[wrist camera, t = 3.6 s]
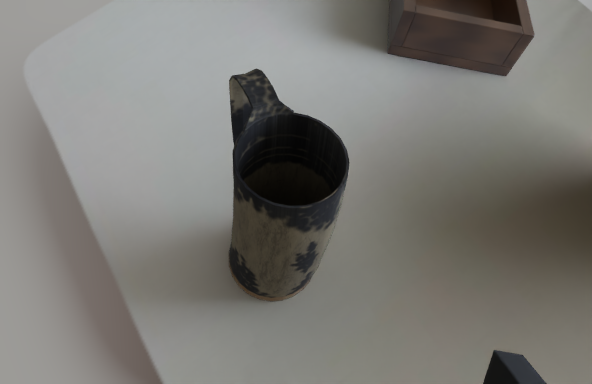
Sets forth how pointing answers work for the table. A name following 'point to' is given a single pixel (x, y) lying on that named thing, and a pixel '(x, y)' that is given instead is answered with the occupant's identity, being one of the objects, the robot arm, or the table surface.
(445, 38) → the square wooden tray
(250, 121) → the mug
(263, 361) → the table surface
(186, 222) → the table surface
